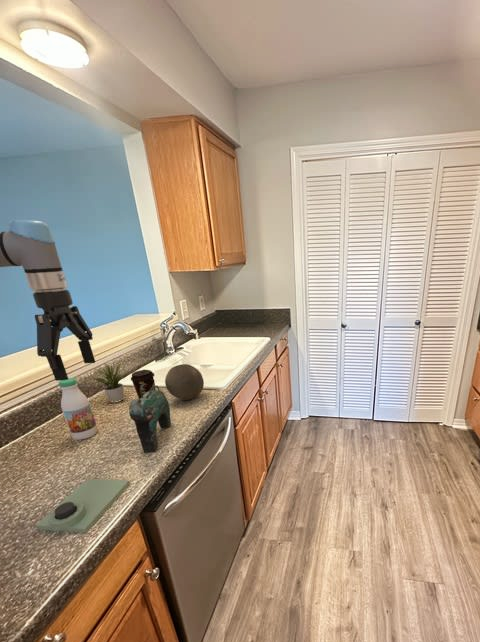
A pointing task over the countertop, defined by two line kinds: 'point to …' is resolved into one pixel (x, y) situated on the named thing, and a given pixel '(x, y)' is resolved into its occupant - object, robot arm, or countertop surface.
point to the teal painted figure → (150, 417)
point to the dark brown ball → (184, 382)
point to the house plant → (111, 383)
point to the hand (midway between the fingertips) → (77, 370)
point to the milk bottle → (77, 410)
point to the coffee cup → (143, 381)
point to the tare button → (65, 510)
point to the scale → (86, 505)
